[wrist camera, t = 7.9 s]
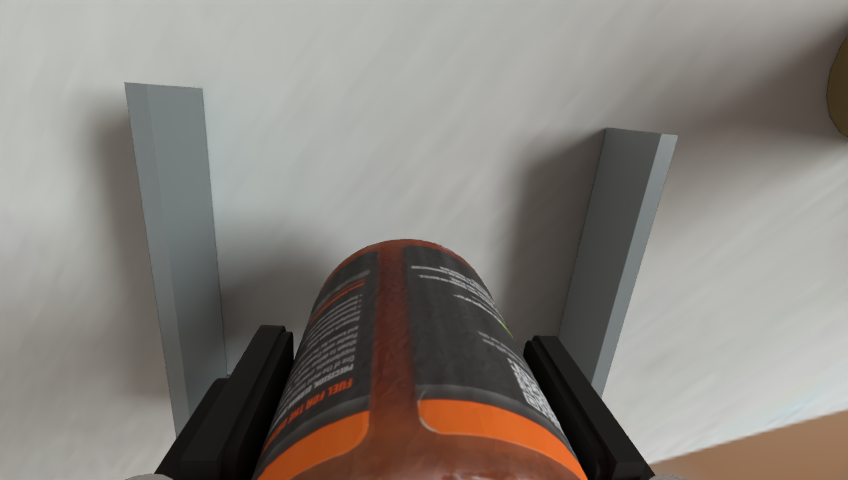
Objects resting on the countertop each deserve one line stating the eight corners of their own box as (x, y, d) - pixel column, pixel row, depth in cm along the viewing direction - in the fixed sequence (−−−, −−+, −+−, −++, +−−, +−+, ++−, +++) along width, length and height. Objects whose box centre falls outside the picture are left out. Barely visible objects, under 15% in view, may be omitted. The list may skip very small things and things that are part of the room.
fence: (185, 86, 15) (124, 82, 11) (620, 128, 16) (678, 135, 13) (214, 385, 19) (177, 444, 16) (555, 393, 21) (586, 448, 17)
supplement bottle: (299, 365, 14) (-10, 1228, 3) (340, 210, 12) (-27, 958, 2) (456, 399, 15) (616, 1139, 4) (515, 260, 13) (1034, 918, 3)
